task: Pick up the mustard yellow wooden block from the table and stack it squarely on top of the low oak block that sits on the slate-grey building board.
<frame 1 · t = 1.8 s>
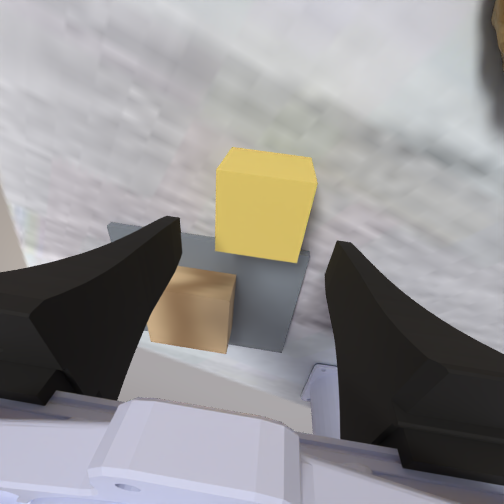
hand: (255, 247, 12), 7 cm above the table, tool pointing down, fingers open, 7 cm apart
building board: (208, 294, 24), on the table
oak block: (196, 297, 24), point 1 cm above the table, touching building board
yellow block: (266, 189, 18), on the table
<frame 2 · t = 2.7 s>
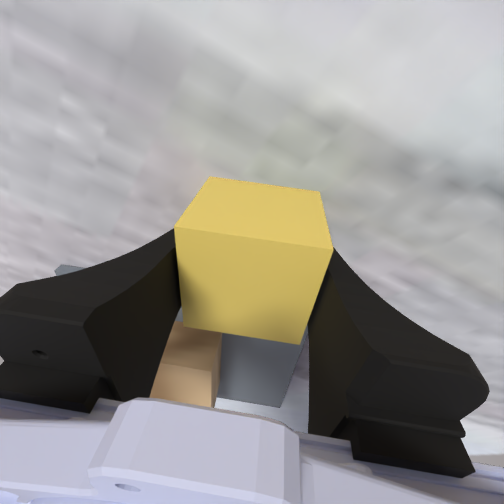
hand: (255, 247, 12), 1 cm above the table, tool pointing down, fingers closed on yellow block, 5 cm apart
building board: (190, 345, 20), on the table
oak block: (175, 349, 19), point 1 cm above the table, touching building board
yellow block: (257, 231, 13), on the table, touching gripper
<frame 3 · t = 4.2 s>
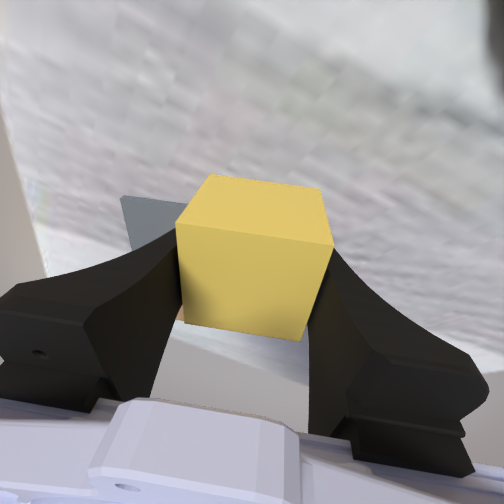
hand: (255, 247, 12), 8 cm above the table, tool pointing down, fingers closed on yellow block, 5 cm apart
building board: (220, 270, 24), on the table
yellow block: (258, 228, 13), point 7 cm above the table, touching gripper
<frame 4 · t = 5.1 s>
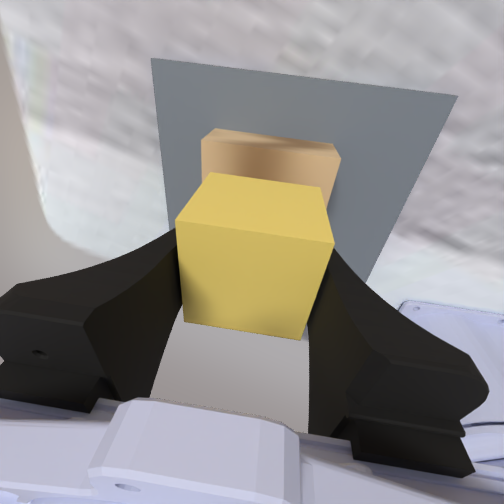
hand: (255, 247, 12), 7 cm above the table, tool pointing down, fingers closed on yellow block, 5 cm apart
building board: (280, 190, 18), on the table
oak block: (265, 191, 17), point 1 cm above the table, touching building board
yellow block: (258, 227, 13), point 6 cm above the table, touching gripper
when the fingers open (6 cm above the table, at t = 5.8 s): yellow block drops 1 cm, resting on oak block.
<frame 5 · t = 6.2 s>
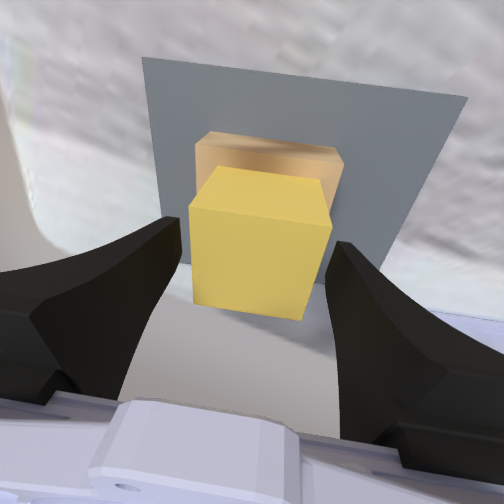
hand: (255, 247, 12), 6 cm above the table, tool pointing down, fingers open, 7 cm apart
building board: (280, 195, 17), on the table
oak block: (264, 197, 16), point 1 cm above the table, touching building board, yellow block
yellow block: (261, 218, 14), point 4 cm above the table, touching oak block
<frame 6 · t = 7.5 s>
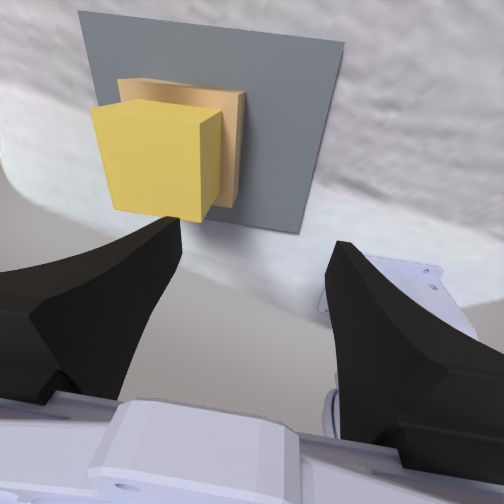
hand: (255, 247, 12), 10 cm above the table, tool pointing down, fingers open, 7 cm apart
building board: (210, 140, 19), on the table
oak block: (195, 140, 19), point 1 cm above the table, touching building board, yellow block
yellow block: (182, 149, 16), point 4 cm above the table, touching oak block
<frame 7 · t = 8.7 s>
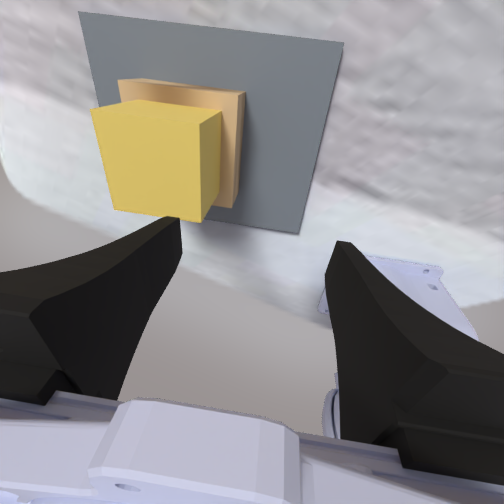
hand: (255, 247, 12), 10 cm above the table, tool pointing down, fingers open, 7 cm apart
building board: (210, 140, 19), on the table
oak block: (195, 140, 19), point 1 cm above the table, touching building board, yellow block
yellow block: (182, 149, 16), point 4 cm above the table, touching oak block
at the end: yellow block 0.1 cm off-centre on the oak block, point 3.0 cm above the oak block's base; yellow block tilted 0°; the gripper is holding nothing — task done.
